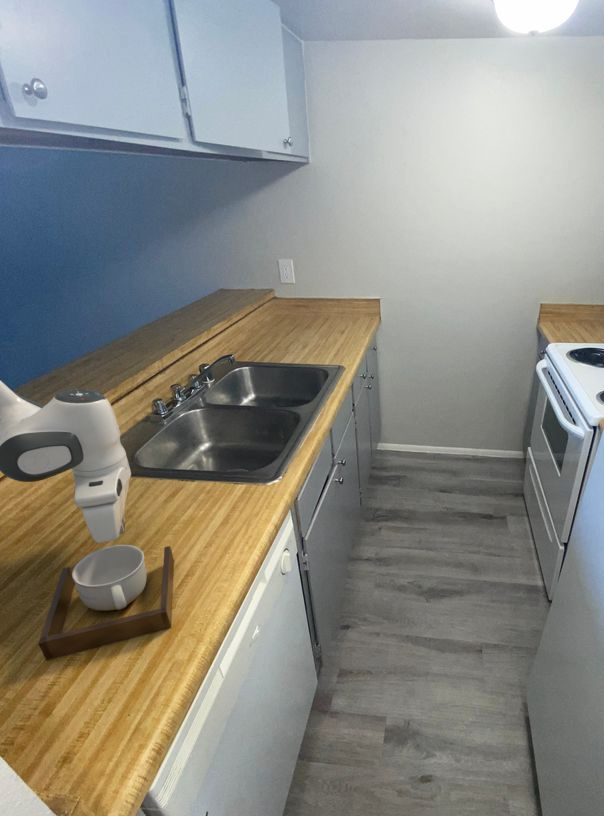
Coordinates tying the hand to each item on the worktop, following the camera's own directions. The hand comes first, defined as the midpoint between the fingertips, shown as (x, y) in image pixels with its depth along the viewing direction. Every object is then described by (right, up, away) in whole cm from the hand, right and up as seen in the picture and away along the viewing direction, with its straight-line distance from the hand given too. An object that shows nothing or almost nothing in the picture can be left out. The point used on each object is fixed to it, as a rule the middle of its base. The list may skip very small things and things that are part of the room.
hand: (120, 529), depth 95 cm
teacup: (+6, -11, -9) cm, 16 cm away
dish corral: (+5, -11, -10) cm, 16 cm away
